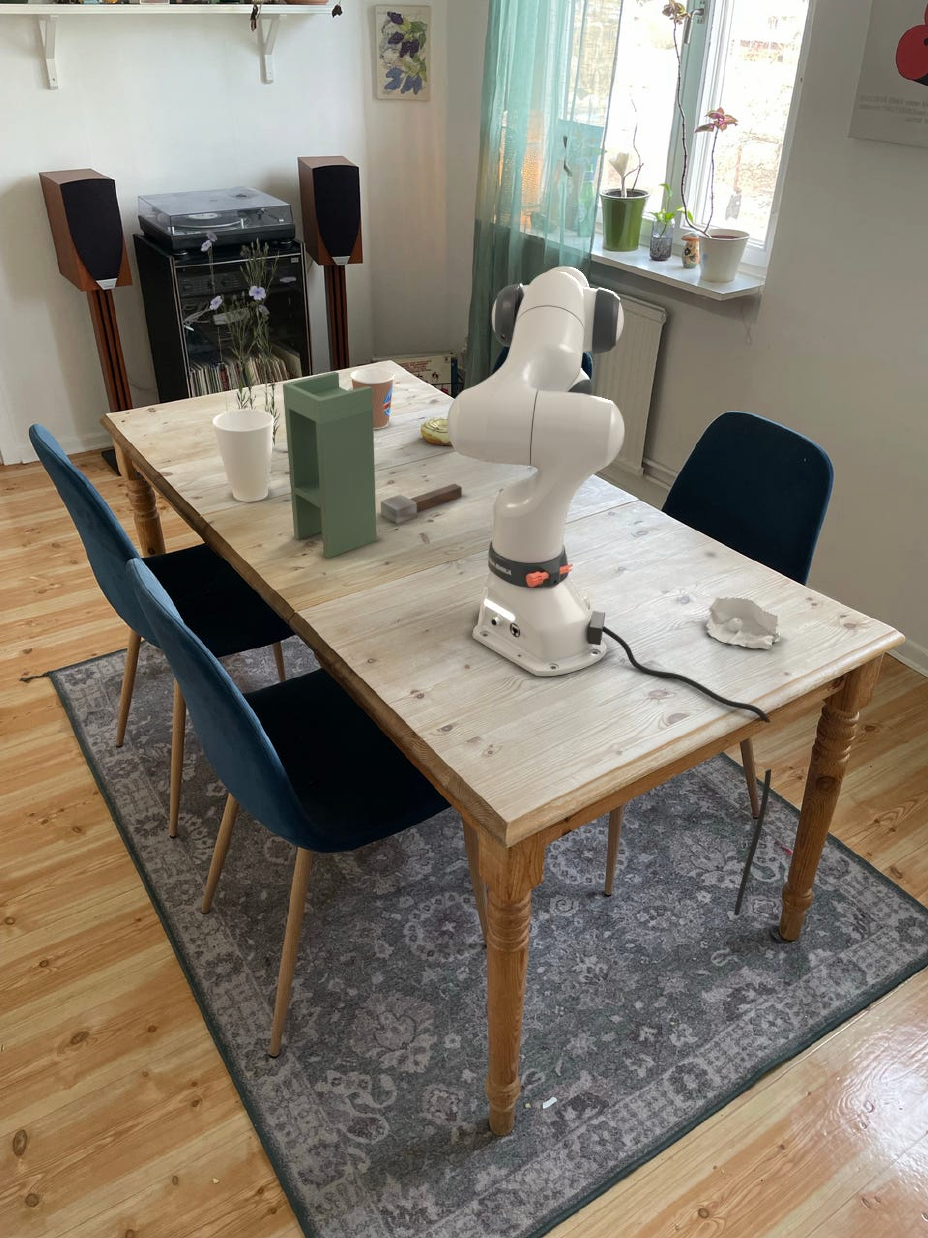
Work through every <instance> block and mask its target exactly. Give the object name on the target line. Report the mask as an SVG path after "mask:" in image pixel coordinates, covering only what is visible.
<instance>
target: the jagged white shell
mask: <svg viewBox="0 0 928 1238" xmlns="http://www.w3.org/2000/svg"><path fill="white" fill-rule="evenodd" d="M708 611H709V613H710V614H709V616H708V620H707V624H706V625H705V627H706V628H707V633H708V635H709V636H710V637H712V638H714V639H715V640H717V641H719V642H721V643H723V644H730V645H736V646H737V645H738V646H741V647H745V648H749V649H759V648H760V649H764V650H769V649H770V648H771V647H772V644H773V643H777V642H779V641H780V639H781V638H782V637H781V634H780V633H779V632H778V631H777V628H778V627H779V623H778V622H779V621H778V615H775V614H772V613H771V612H769V611H766V610H764V609H762V607H761V606H759V605H757V604H756V602H755V601H754V600H752V599H748V598H742V597H740V598H739V597H722V598H720V597H719V596H718V597H715V600H714V601H713V602H712V603H711V605H709V607H708Z"/></svg>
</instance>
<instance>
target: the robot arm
mask: <svg viewBox="0 0 928 1238" xmlns="http://www.w3.org/2000/svg"><path fill="white" fill-rule="evenodd" d="M624 323H625V315H624V309H623V307H622V304H621V298H620V297H619V296H618V295H617V294H616V293H615V292H614V291H611V290H609V289H605V288H602V287H597V288H591V287H590V285H589V282H588V280H587V278H586V276H585V275H584V274H583V273H582V272H581V271H580V270H578V269H576V268H574V267H571V266H565V265H563V266H556V267H553V268H551V269H549V270H548V271H545V272H543V273H541V274H538V275H537V276H536V277H535V278H534V279H533V280H531V282H530V283H529V284H525V285H523V284H522V283H515V284H510V285H506V286H505V287H504V288H502V289H501V290H500V291H499V292H498V293H497V296H496V299H495V301H494V303H493V306H492V310H491V325H492V329H493V331H494V335H495V339H496V340H497V341H498V342H499V343H500V345H502V346H504V347H508V348H509V350H508V353H507V356H506V359H504V360H505V361H504V362H503V364H502V365H501V366H500V367H499V368H498V369H497V370H496V371H495V372H494V373H493V374H491V375H490V376H489V377H488V378H486V379H485V380H483V381H482V382H480V383H478V384H476V385H474V386H471V387H468V388H466V389H464V390H462V391H461V392H459V394H458V395H457V396H456V397H455V398H454V400H453V401H452V403H451V405H450V407H449V409H448V412H447V416H446V418H447V432H448V436H449V439H450V442H451V444H452V445H451V446H452V447H453V449H454V450H455V451H456V453H458V454H459V455H460V456H464V457H467V458H470V459H474V460H477V461H481V462H485V463H490V464H499V465H500V464H501V465H513V466H526V467H531V468H535V469H536V471H535V472H534V473H533V474H531V475H530V476H528V477H526V478H523V479H521V480H518V481H515V482H512V483H511V484H509V485H508V486H506V487H504V489H502V490H501V491H500V493H498V495H497V496H496V498H495V500H494V503H493V515H492V537H491V541H490V542H489V547H488V551H487V559H488V561H487V562H488V563H487V566H488V569H489V573H488V576H487V577H486V578H487V579H486V581H485V584H484V586H483V588H482V594H481V600H480V607H479V613H478V614H479V615H478V621H477V624H476V625H475V626H474V628H473V630H472V638H473V639H474V640H475V641H477V642H479V643H480V644H482V645H483V646H485V647H487V648H488V649H491V650H492V651H494V652H495V653H497V654H499V655H501V656H502V657H503V658H505V659H507V660H508V661H510V662H512V663H514V664H516V665H517V666H519V667H521V668H522V669H524V670H525V671H527V672H529V673H530V674H532V675H533V676H536V677H556V676H562V675H566V674H570V673H573V672H577V671H579V670H582V669H585V668H587V667H589V666H592V665H594V664H595V663H598V661H600V660H601V659H603V658H604V657H605V656H606V654H607V651H608V647H607V644H606V643H605V642H604V641H603V634H605V635H606V636H608V637H610V638H611V639H613V640H614V641H615V642H617V643H618V645H620V646H621V647H622V649H624V651H625V653H626V655H627V658H628V660H629V662H630V664H631V665H632V666H633V667H634V668H635V669H637V670H638V671H640V672H641V673H644V674H647V675H651V676H654V677H657V678H658V677H659V678H666V679H671V680H676V681H679V682H682V683H685V684H687V685H689V686H691V687H693V688H695V689H697V690H698V691H700V692H702V693H703V694H705V695H707V696H708V697H710V698H711V699H712V700H715V701H716V702H719V703H720V704H723V705H725V706H727V707H731V708H735V709H741V710H747V711H750V712H753V713H754V714H756V715H757V716H759V718H760V719H761V720H762V722H764V723H769V724H770V723H771V720H770V718H769V717H768V715H767V714H766V713H765V712H764V711H763V710H762V709H761V708H760V707H757V706H756V705H752V704H750V703H744V702H738V701H733V700H730V699H727V698H725V697H723V696H721V695H719V694H717V693H715V692H714V691H712V690H710V689H708V688H707V687H706V686H704V685H703V684H700V683H699V682H697V681H695V680H693V679H692V678H689V677H687V676H684V675H681V674H678V673H673V672H667V671H659V670H654V669H650V668H648V667H645V666H643V665H642V664H641V663H639V662H638V661H637V660H636V659H635V656H634V654H633V651H632V650H631V649H632V648H631V647H630V646H629V644H628V643H627V642H626V641H625V640H624V639H623V638H622V637H620V636H619V635H618V634H616V633H615V632H614V631H612V630H611V629H609V628H608V627H606V626H605V620H606V619H605V618H606V612H605V611H597V610H593V611H592V612H591V611H590V609H591V602H590V599H589V598H588V597H587V596H582V595H581V594H580V592H579V591H578V589H577V587H576V585H575V583H574V581H573V580H572V578H571V577H570V573H569V572H572V571H573V568H572V567H573V566H574V565H573V563H568V555H567V552H566V547H565V545H564V539H565V532H566V531H565V530H566V524H567V519H568V514H569V508H570V506H571V503H572V500H573V498H574V497H575V495H576V493H577V491H578V490H579V489H580V488H581V486H582V485H583V484H584V483H585V482H586V481H587V480H588V479H589V478H590V477H592V476H593V475H594V474H596V473H597V472H599V471H601V470H603V469H604V468H607V467H608V466H609V465H611V464H612V462H614V460H615V459H616V458H617V457H618V455H619V454H620V452H621V450H622V447H623V445H624V441H625V434H626V429H625V428H626V427H625V421H624V417H623V415H622V412H621V411H620V409H619V407H618V406H617V405H616V403H615V402H614V401H613V400H608V399H605V398H602V397H599V396H595V395H593V391H594V385H593V381H592V380H591V379H590V377H589V375H588V374H587V373H586V372H585V371H584V370H583V368H582V361H583V354H584V353H592V355H594V354H595V355H597V354H603V353H607V352H611V351H612V350H613V349H614V347H616V345H617V342H618V340H619V338H620V337H621V335H622V332H623V329H624ZM571 568H572V569H571ZM771 777H772V769H771V768H770V769H767V770H765V771H764V781H763V789H762V796H761V802H760V806H759V812H758V817H757V821H756V825H755V829H754V833H753V836H752V840H751V844H750V848H749V852H748V855H747V858H746V863H745V866H744V870H743V873H742V876H741V877H742V878H741V881H740V885H739V889H738V893H737V896H736V901H735V906H734V910H733V915H734V916H736V917H737V916H739V915H740V912H741V907H742V904H743V899H744V896H745V895H744V894H745V891H746V886H747V883H748V879H749V875H750V873H751V868H752V863H753V861H754V858H755V853H756V851H757V847H758V843H759V839H760V836H761V832H762V828H763V824H764V820H765V815H766V811H767V805H768V800H769V795H770V787H771V779H772V778H771Z"/></svg>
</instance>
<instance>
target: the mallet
mask: <svg viewBox="0 0 928 1238" xmlns="http://www.w3.org/2000/svg"><path fill="white" fill-rule="evenodd" d="M462 488H463V487H462V486H461V485H459V484H457V483H452V484H448V485H447V486H444V487H440V488H438V489H434V490H432V491H429V492H426V493H423V494H420V495H417V496H415V497H412V498H408V497H406V496H404V495H403V494H398V495H395V496H392V497H389V498H386V499H383V500H380V515H381V516H382V517H383V518H385V519H388V520H389V521H391V522H393V523H394V524H396V525H397V524H400V523H403V522H406V521H408V520H411V519H414V518H416V517H417V513H419V512H422V511H425V510H428V509H430V508H433V507H436V506H439V505H442V504H444V503H447V502H450V501H453V500H456V499H459V498H461V497H462V495H463V494H462V491H463V489H462Z"/></svg>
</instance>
